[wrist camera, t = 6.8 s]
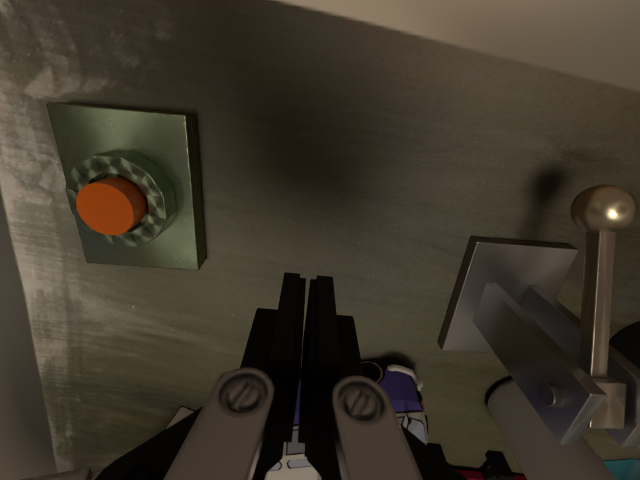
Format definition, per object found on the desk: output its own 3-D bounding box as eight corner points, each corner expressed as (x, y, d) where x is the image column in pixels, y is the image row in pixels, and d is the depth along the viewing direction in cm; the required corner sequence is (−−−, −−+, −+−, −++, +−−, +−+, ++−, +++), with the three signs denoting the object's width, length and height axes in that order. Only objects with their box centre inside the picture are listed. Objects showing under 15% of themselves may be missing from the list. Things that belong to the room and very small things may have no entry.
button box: (69, 101, 22) (21, 102, 19) (196, 113, 23) (174, 116, 19) (102, 251, 27) (70, 274, 24) (206, 258, 28) (190, 282, 24)
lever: (559, 187, 22) (603, 177, 18) (603, 191, 22) (654, 182, 19) (545, 403, 21) (587, 432, 18) (589, 406, 22) (639, 434, 18)
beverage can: (474, 408, 36) (542, 541, 26) (501, 369, 34) (590, 497, 23) (522, 417, 37) (608, 549, 26) (552, 380, 35) (661, 509, 24)
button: (88, 174, 21) (69, 180, 19) (142, 178, 21) (128, 185, 20) (99, 224, 22) (82, 233, 21) (150, 227, 23) (137, 237, 21)
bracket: (470, 236, 27) (587, 339, 16) (569, 243, 28) (753, 349, 16) (437, 342, 32) (507, 480, 21) (521, 346, 33) (635, 484, 21)
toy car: (417, 407, 36) (452, 511, 27) (237, 430, 37) (213, 537, 28) (415, 346, 32) (454, 443, 23) (213, 373, 34) (176, 476, 24)
